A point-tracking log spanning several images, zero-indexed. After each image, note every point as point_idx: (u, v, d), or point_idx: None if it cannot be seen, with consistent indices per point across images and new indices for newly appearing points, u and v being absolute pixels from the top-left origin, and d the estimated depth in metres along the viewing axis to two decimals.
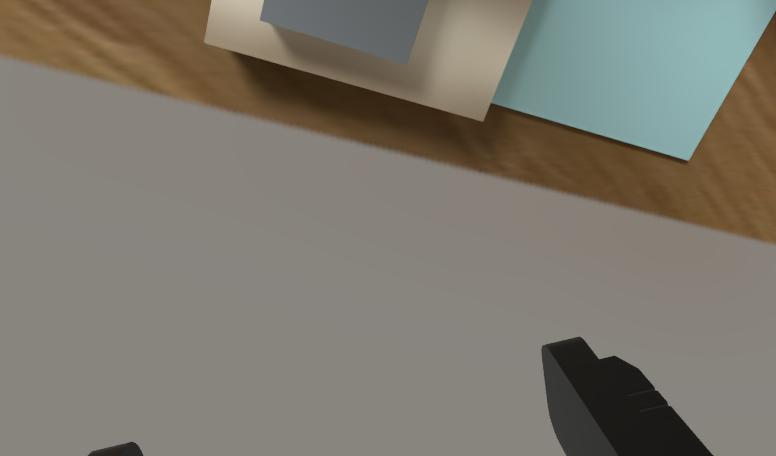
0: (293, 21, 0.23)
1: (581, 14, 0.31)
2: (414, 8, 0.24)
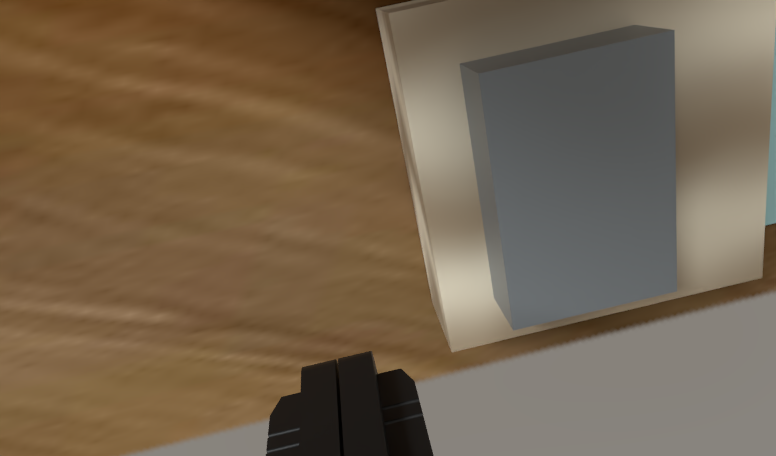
0: (546, 314, 0.21)
1: None
2: (664, 239, 0.21)
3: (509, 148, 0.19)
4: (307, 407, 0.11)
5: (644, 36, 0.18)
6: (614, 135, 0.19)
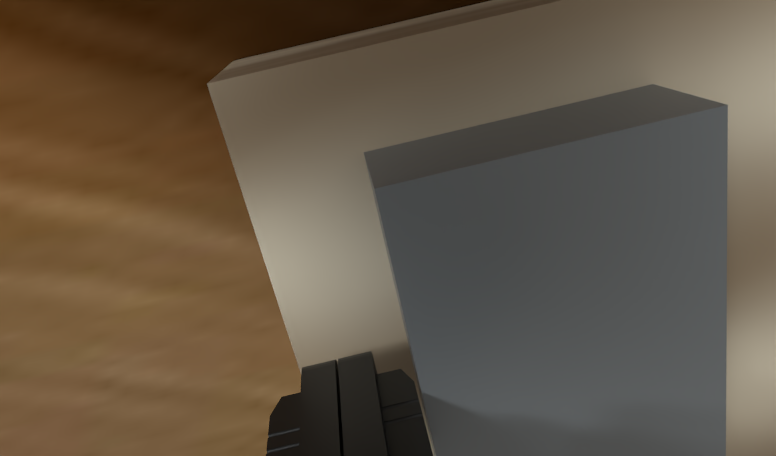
0: None
1: None
2: (706, 432, 0.13)
3: (439, 307, 0.11)
4: (307, 407, 0.11)
5: (673, 116, 0.10)
6: (621, 281, 0.11)
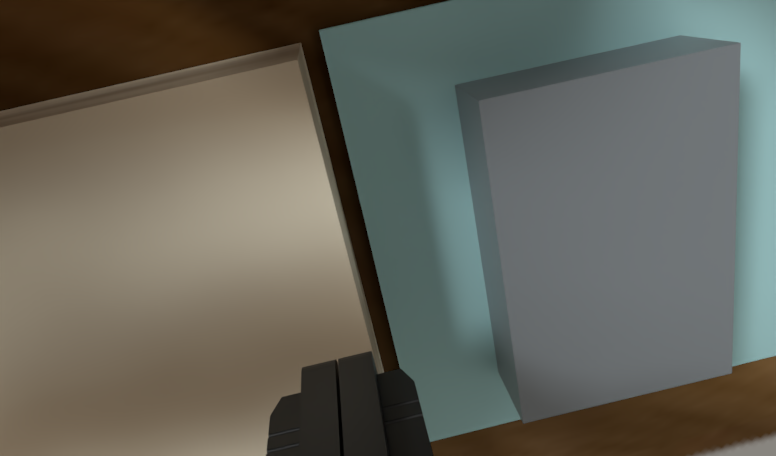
0: None
1: None
2: None
3: None
4: (307, 407, 0.11)
5: (489, 78, 0.15)
6: None
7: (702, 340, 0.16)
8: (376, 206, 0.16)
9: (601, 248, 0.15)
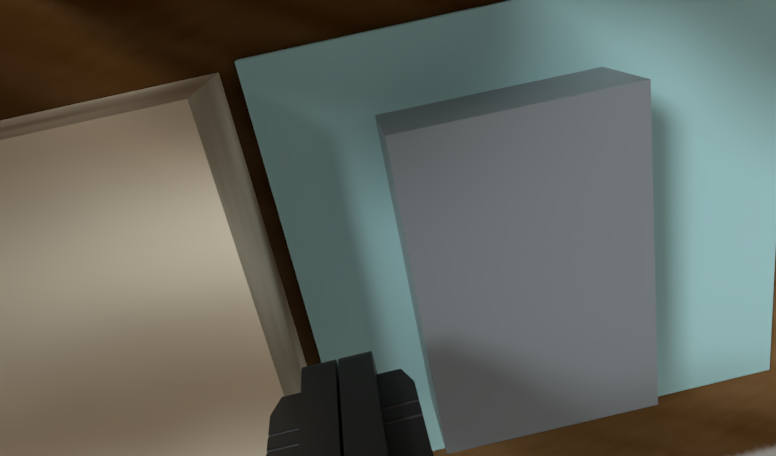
0: None
1: None
2: None
3: None
4: (307, 407, 0.11)
5: (409, 108, 0.15)
6: None
7: (626, 372, 0.16)
8: (300, 234, 0.16)
9: (517, 281, 0.15)
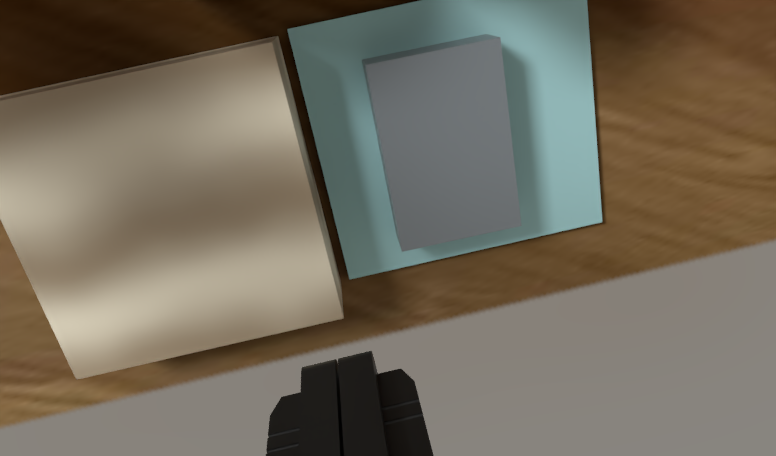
0: None
1: None
2: None
3: None
4: (307, 407, 0.11)
5: (380, 56, 0.28)
6: None
7: (501, 204, 0.29)
8: (320, 128, 0.29)
9: (437, 147, 0.28)
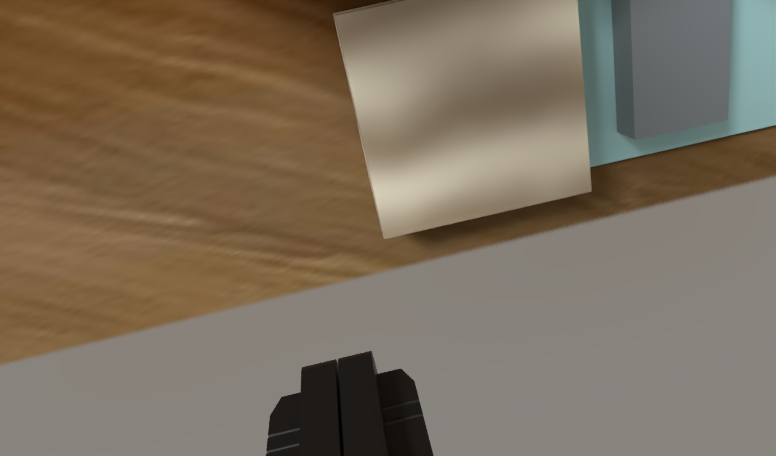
0: None
1: None
2: None
3: None
4: (307, 407, 0.11)
5: None
6: None
7: (715, 101, 0.37)
8: None
9: (673, 53, 0.36)
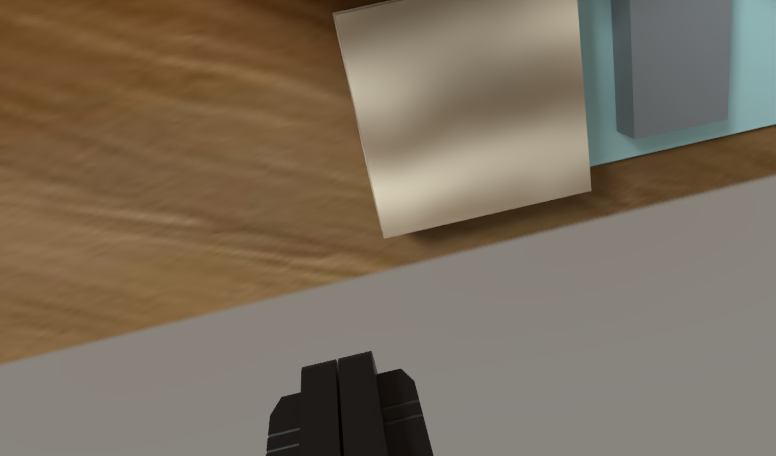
0: None
1: None
2: None
3: None
4: (307, 407, 0.11)
5: None
6: None
7: (715, 100, 0.37)
8: None
9: (673, 52, 0.36)
